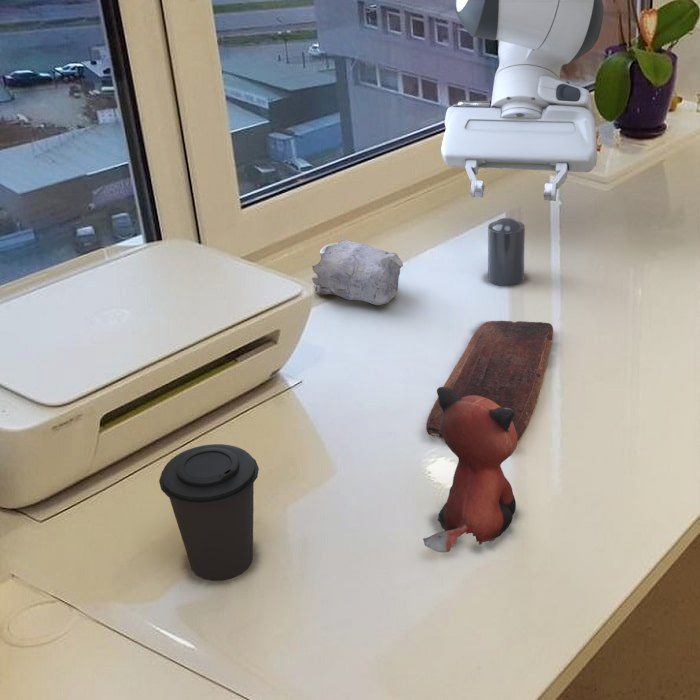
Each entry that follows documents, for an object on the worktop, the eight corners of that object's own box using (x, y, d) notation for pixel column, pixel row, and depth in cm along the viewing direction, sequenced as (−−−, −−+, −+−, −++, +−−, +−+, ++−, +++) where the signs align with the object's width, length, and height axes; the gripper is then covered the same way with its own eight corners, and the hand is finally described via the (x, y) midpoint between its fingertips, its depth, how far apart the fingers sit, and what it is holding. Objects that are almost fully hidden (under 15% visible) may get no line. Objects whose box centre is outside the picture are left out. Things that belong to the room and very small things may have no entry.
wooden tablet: (481, 310, 127) (565, 309, 123) (483, 326, 128) (567, 326, 124) (418, 428, 105) (518, 431, 101) (421, 447, 106) (520, 451, 102)
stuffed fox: (395, 552, 90) (389, 433, 85) (453, 483, 99) (452, 370, 93) (476, 579, 87) (476, 456, 81) (530, 505, 95) (533, 389, 89)
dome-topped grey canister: (520, 270, 140) (521, 211, 136) (526, 284, 136) (528, 224, 132) (485, 272, 140) (485, 213, 136) (490, 287, 136) (491, 226, 132)
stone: (387, 315, 130) (385, 263, 127) (304, 299, 136) (300, 249, 132) (416, 290, 136) (415, 240, 133) (336, 276, 142) (332, 227, 138)
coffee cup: (255, 595, 87) (242, 494, 82) (160, 588, 88) (142, 489, 83) (278, 533, 94) (268, 437, 89) (190, 527, 95) (175, 432, 90)
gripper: (444, 88, 142) (430, 183, 138) (601, 91, 136) (591, 190, 132) (451, 112, 147) (437, 203, 144) (602, 115, 142) (592, 211, 138)
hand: (512, 197), depth 138 cm, fingers open, 8 cm apart
